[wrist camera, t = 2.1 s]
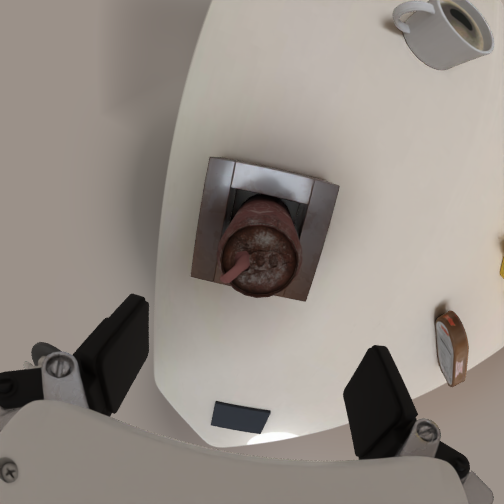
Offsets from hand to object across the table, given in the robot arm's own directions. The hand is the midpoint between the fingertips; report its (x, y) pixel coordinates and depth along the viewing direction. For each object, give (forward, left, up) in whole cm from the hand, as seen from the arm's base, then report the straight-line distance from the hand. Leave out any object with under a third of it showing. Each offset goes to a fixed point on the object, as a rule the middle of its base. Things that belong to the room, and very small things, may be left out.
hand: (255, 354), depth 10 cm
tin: (+34, -12, -23) cm, 42 cm away
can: (0, 0, -23) cm, 23 cm away
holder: (0, 0, -23) cm, 23 cm away
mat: (+4, -37, -23) cm, 43 cm away
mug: (+16, +31, -23) cm, 42 cm away
